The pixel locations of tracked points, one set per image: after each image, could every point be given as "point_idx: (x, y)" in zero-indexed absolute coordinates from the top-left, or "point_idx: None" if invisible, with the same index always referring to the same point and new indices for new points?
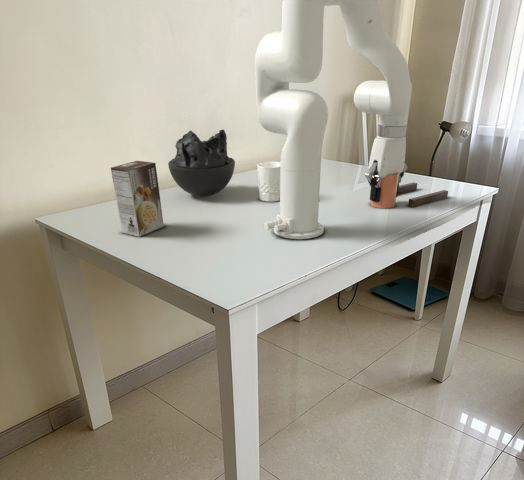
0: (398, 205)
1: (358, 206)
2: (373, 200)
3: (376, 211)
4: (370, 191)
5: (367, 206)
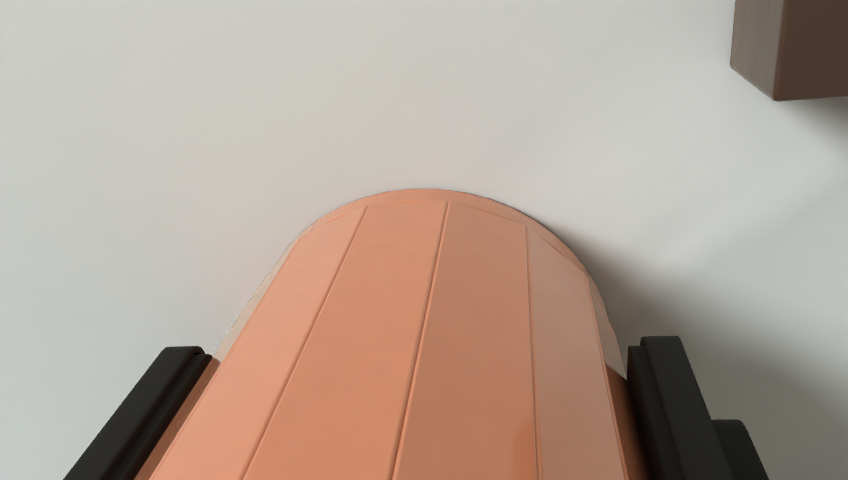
0: None
1: (65, 206)
2: None
3: None
4: (96, 436)
5: (190, 277)
